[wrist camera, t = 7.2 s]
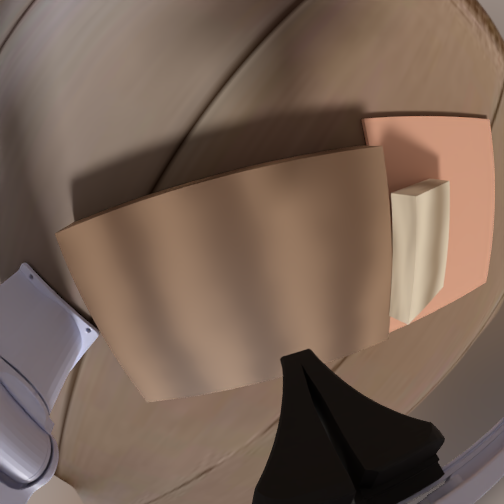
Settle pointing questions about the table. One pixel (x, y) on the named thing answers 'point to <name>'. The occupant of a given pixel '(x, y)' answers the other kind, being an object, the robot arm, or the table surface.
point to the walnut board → (240, 271)
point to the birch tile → (418, 246)
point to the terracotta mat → (461, 188)
